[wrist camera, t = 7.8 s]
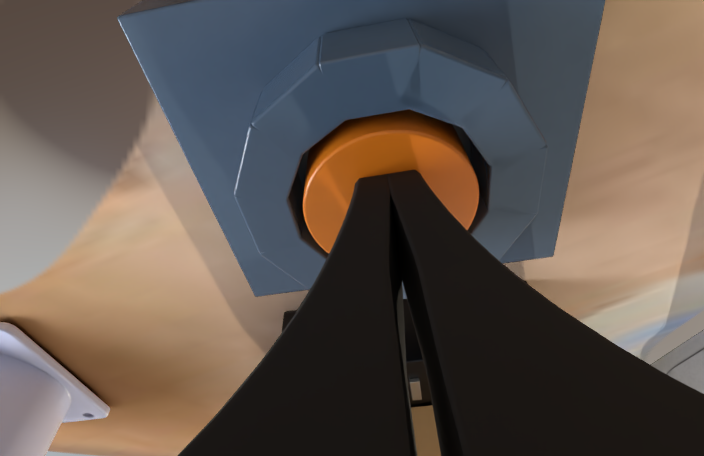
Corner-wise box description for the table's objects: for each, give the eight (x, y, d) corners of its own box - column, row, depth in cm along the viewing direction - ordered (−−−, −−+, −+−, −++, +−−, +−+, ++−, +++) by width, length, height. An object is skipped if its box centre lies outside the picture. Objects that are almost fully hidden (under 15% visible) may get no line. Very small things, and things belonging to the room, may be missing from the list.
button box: (261, 262, 16) (246, 342, 13) (144, -2, 10) (71, 44, 7) (534, 223, 15) (578, 300, 12) (583, -94, 9) (687, -78, 6)
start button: (324, 236, 12) (323, 281, 11) (288, 110, 10) (281, 149, 8) (461, 217, 12) (477, 259, 11) (462, 80, 9) (482, 115, 8)
